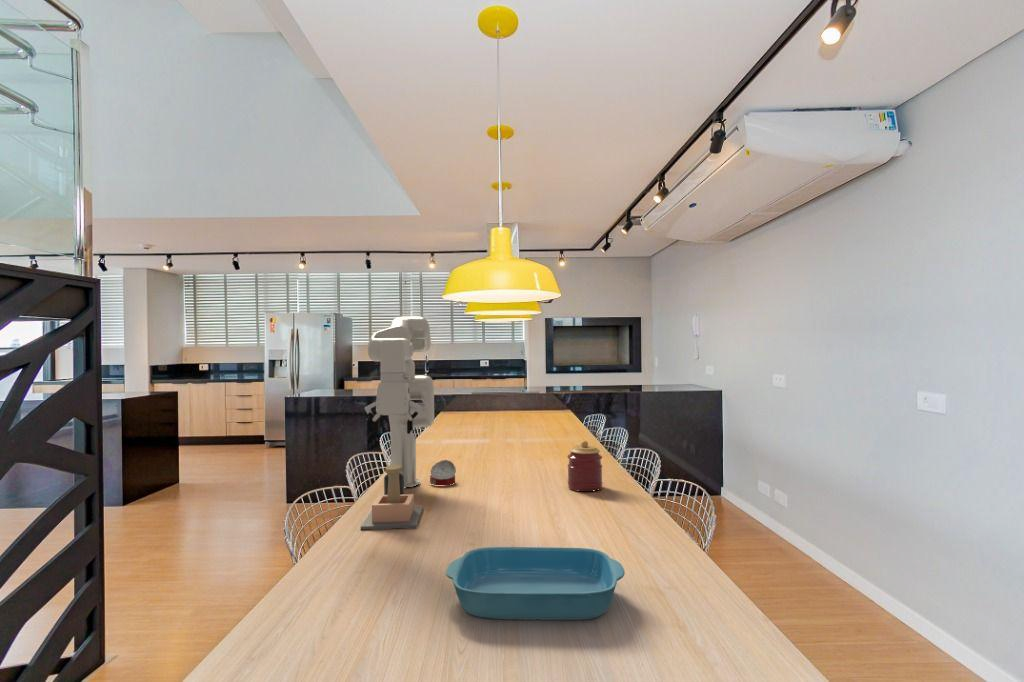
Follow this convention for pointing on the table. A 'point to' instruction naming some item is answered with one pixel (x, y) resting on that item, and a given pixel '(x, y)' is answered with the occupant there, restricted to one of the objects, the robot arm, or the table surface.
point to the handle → (393, 483)
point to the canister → (584, 468)
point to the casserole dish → (535, 582)
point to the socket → (393, 513)
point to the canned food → (443, 473)
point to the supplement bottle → (401, 483)
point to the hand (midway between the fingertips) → (393, 433)
